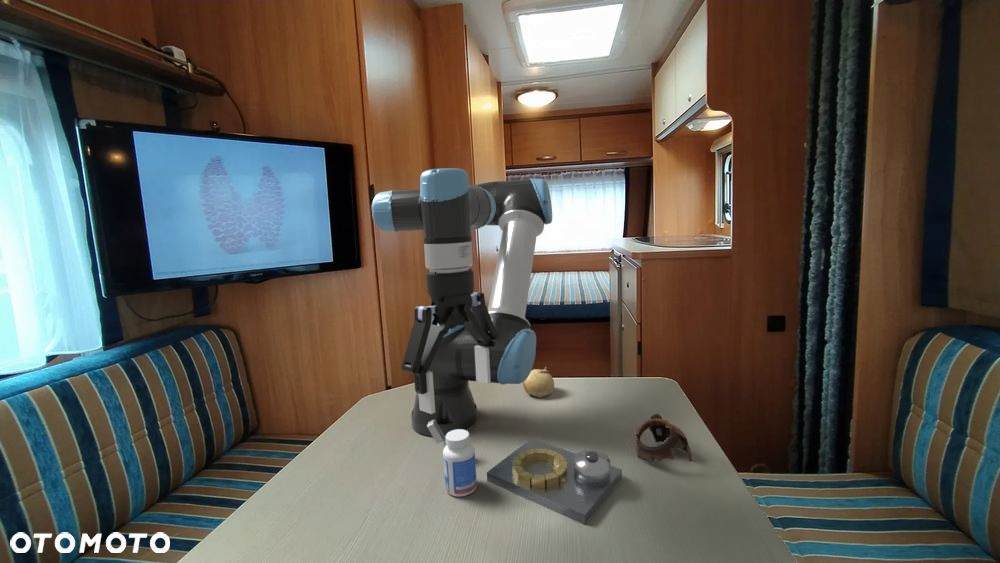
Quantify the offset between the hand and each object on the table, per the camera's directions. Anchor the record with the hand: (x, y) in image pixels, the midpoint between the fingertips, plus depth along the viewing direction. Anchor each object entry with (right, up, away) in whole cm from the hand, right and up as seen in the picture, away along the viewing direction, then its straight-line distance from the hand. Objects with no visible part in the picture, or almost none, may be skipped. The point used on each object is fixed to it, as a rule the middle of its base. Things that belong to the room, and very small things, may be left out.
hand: (457, 395), depth 72 cm
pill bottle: (0, -17, +3) cm, 17 cm away
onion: (+17, -10, +40) cm, 44 cm away
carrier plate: (+17, -16, +4) cm, 23 cm away
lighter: (-3, -15, +11) cm, 19 cm away
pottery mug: (+38, -14, +10) cm, 42 cm away
